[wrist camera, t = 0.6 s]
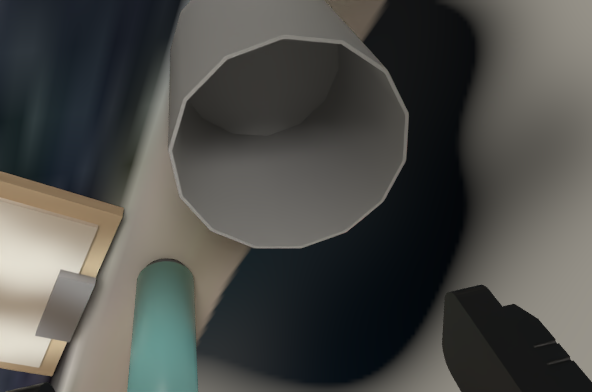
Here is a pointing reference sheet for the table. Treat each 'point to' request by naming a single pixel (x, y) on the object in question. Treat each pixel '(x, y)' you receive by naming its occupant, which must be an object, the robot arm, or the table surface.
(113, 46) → the table surface
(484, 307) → the robot arm
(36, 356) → the clipboard
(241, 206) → the cup
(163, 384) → the marker
